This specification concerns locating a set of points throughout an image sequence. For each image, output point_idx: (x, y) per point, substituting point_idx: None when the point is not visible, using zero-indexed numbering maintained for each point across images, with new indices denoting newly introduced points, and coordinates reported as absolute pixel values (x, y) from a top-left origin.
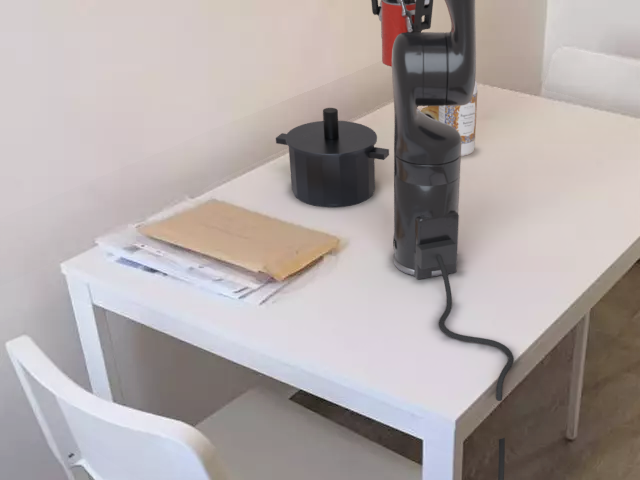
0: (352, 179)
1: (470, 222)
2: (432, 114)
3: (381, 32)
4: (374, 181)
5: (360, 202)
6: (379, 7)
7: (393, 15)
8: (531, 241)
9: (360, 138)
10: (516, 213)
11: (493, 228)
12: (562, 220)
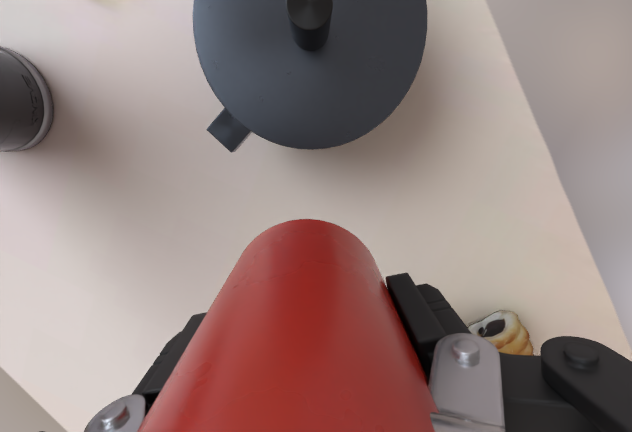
0: None
1: (120, 224)
2: (488, 340)
3: (447, 302)
4: None
5: None
6: (586, 420)
7: (156, 416)
8: (41, 274)
9: (271, 98)
10: (131, 297)
11: (92, 245)
12: (94, 340)
